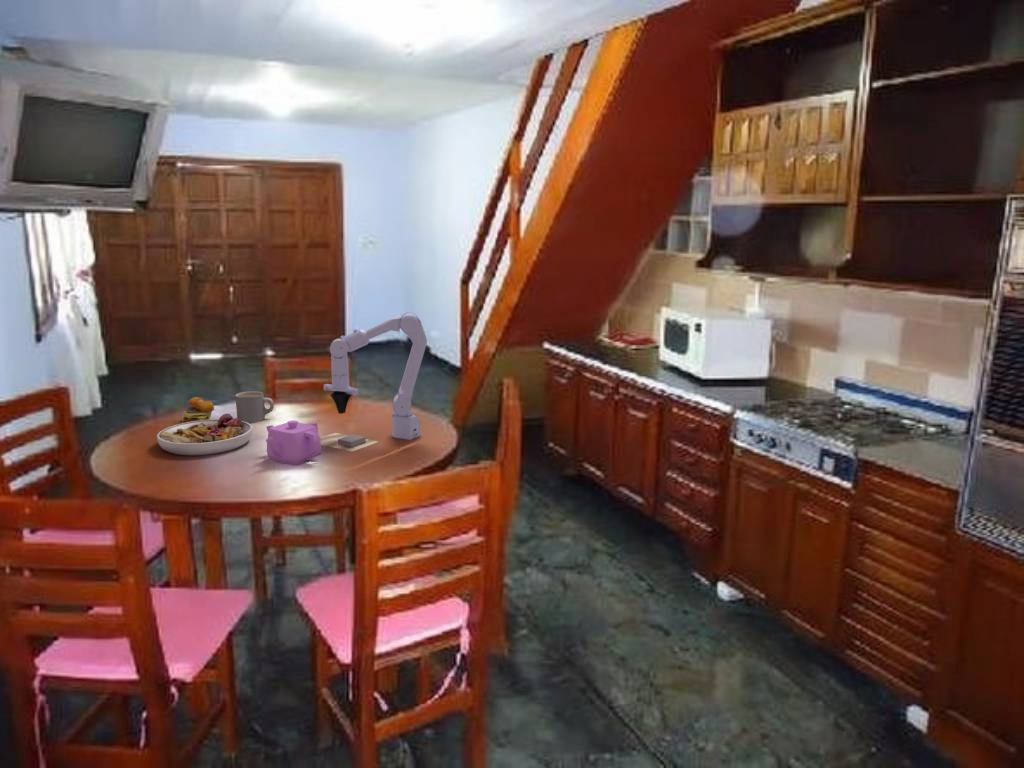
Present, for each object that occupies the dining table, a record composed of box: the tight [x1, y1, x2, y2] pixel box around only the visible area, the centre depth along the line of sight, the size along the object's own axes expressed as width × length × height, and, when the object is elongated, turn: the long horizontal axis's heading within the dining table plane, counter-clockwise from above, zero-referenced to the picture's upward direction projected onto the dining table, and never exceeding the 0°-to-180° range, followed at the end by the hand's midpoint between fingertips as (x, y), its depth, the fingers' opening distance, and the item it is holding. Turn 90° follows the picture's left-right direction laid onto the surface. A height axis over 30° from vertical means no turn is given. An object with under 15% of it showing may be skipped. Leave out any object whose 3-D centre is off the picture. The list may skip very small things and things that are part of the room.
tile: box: [338, 433, 367, 447], centre depth 251 cm, size 2×7×6 cm
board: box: [320, 432, 378, 453], centre depth 254 cm, size 20×13×1 cm, turn 59°
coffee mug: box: [235, 390, 275, 424], centre depth 284 cm, size 13×10×10 cm
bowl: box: [156, 413, 253, 456], centre depth 253 cm, size 30×30×8 cm
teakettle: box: [265, 420, 322, 466], centre depth 239 cm, size 17×17×12 cm
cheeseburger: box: [181, 396, 215, 423], centre depth 282 cm, size 10×11×10 cm
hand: (341, 412), depth 257 cm, fingers closed
